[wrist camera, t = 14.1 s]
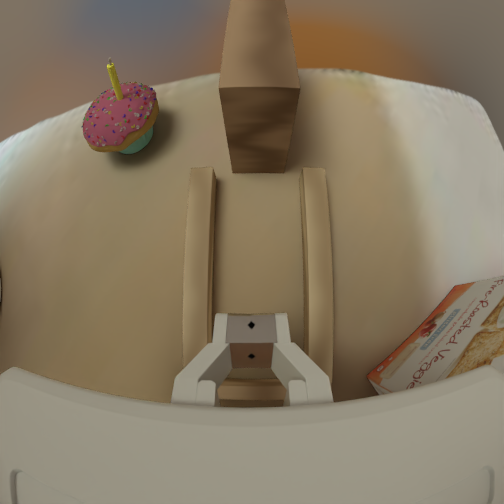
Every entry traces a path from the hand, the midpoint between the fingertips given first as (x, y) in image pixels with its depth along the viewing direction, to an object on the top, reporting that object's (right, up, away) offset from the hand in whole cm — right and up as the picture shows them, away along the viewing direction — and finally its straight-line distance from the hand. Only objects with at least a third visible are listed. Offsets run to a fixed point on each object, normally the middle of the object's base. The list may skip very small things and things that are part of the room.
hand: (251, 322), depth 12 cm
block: (+1, +18, +16) cm, 24 cm away
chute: (+1, 0, +13) cm, 13 cm away
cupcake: (-13, +16, +16) cm, 26 cm away
